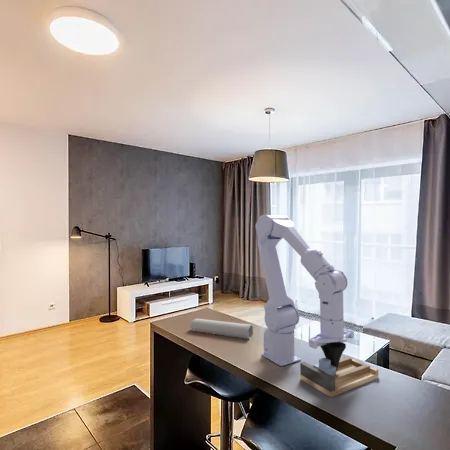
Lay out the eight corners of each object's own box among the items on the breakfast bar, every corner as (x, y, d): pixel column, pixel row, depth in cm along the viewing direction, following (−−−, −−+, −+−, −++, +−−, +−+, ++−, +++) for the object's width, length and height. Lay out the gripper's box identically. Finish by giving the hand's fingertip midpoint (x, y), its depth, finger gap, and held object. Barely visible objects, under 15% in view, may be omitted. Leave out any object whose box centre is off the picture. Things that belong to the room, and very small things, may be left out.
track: (300, 379, 79) (300, 363, 80) (346, 363, 88) (346, 349, 88) (330, 397, 71) (330, 379, 71) (378, 378, 80) (378, 362, 80)
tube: (186, 322, 117) (247, 330, 106) (193, 314, 121) (252, 321, 111) (189, 334, 118) (249, 343, 108) (195, 326, 123) (253, 333, 112)
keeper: (313, 377, 78) (313, 358, 78) (324, 373, 80) (324, 355, 80) (325, 384, 74) (324, 364, 74) (336, 380, 76) (336, 360, 76)
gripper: (323, 326, 71) (324, 384, 71) (363, 317, 79) (364, 369, 78) (302, 319, 78) (303, 372, 77) (341, 310, 85) (341, 359, 85)
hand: (332, 370), depth 78 cm, fingers closed
